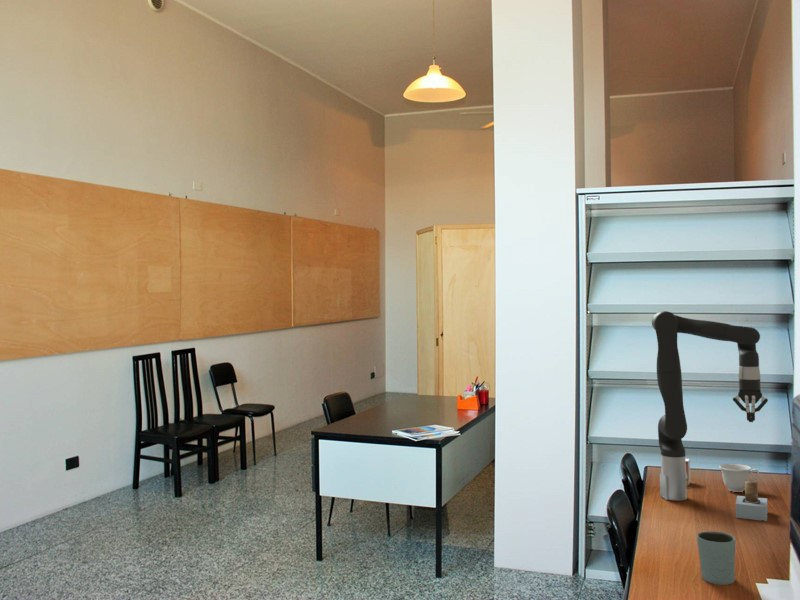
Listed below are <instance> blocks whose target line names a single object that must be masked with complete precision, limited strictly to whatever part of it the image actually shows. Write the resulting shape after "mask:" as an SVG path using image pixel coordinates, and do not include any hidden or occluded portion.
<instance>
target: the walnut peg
mask: <svg viewBox="0 0 800 600" xmlns="http://www.w3.org/2000/svg"><path fill="white" fill-rule="evenodd" d="M758 485H759V484H758V482H757V481H756V480H753V481H749V480H748V481H745V488H744V496H745V503H755V504H758V498H759V493H758V492H759V489H758Z"/></svg>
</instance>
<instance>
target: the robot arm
mask: <svg viewBox="0 0 800 600" xmlns="http://www.w3.org/2000/svg"><path fill="white" fill-rule="evenodd" d="M651 325H652V326H651V327H652V328H653V329H654V330H655V335H656V342H657V355H656V380H657V386H658V389H659V393H660V395H661V399H662V401H663V405H664V415H662V416H661V417H660V418H659V420H658V424H657V434H658V435H657V436H658V446H659V450H660V463H661V465H660V466H661V467H660V468H661V472H659V496H660V497H661V498H663V499H664V500H665V501H677V502H679V501H680V502H681V501H685V500H687V499H688V497H687V495H688V493H687V492H688V491H687V485H686V459H687V458H686V449H685V447H684V444H683V440H682V439H683V438H685V436H686V435H687V433H688V432H687V431H688V423H687V418H686V414H685V413H686V412H685V408H684V397H683V393H684V392H683V379H682V377H683V376H682V368H681V367H682V366H681V360H680V353H679V348H678V347H679V346H678V333H679V334H687V335H693V336H696V337H701V338H706V339H709V340H716V341H722V342H731V343H736V344H737V350H738V385H739V386H738V393H737V395H736V396H733V398H732V401H733V402H734V403H735V404H736V406H737V407H738V408H739V409H740V410H741V411H743V412H744V413H746V420H747V421H748V423H753V422H755V420H756V413H757V412H760V410H762V409H763V407H764V406H765V405H766V404H767V403H768V401H769V399H768V398H767V397H765V396H764V395H763V393H762V391H761V371H760V356H759V353H758V351H757V344H758V343H759V341H760V340H761V334H760V331H759V330H757V329H756V328H755V327H751V326H750V327H749V326H743V325H742V326H741V325H733V324H730V323H725V322H719V321H711V320H702V319H694V318H689V317H688V318H687V317H684V316H683V317H682V316H679V315H677V314H676V315H675V314H674V313H673V312H672V311H671V312H670V311H667V310H662V311H658V312H656V313H655V314H654V315H653V316H652V318H651ZM741 401H742V402H741ZM759 401H760V402H761V403H760V404H759V405H758V406H757V407H756V404H757V403H758V402H759ZM742 403H744V404H745V407H744V405H743V404H742ZM750 404H751V407H750Z"/></svg>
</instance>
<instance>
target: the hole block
mask: <svg viewBox="0 0 800 600" xmlns="http://www.w3.org/2000/svg"><path fill="white" fill-rule="evenodd" d="M768 506H769V505H768V497H767V498H766V497H758V504H755V503H745V495H737V496H736V499H735V518H736V519H744V520H755V521H762V520H764V521H763V522H767V521H768V515H767V514H768V513H769V512H768V511H769V510H768Z"/></svg>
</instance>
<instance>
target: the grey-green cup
mask: <svg viewBox="0 0 800 600" xmlns="http://www.w3.org/2000/svg"><path fill="white" fill-rule="evenodd" d="M696 541H697V546H698V555H699V557H698V558H699V565H700V573H701V574H700V575H701V578H702V580H704V581H705V582H708V583H710V584H713V585H720V586H721V585H722V586H726V585H732V584H734V583H735V579H736V577H735V575H736V573H735V566H736V565H735V564H736V562H735V559H736V558H735V557H736V537H735V536H734V535H732V534H730V533H726V532H723V531H712V530H710V531H709V530H708V531H701V532H698V533H697V534H696Z"/></svg>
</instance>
